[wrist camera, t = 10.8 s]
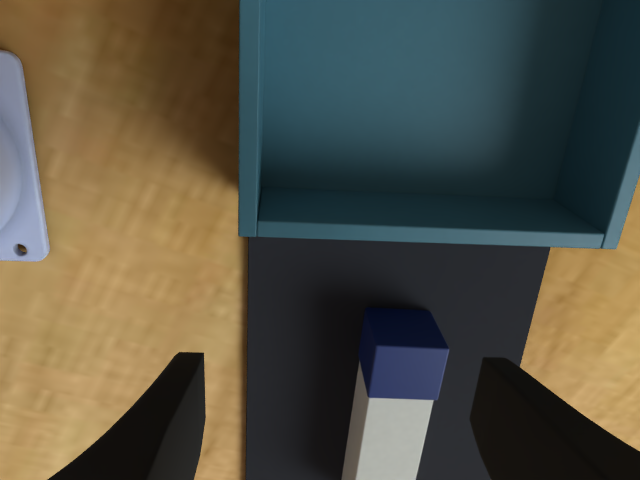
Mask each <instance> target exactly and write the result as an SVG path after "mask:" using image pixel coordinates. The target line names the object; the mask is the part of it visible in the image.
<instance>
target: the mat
mask: <svg viewBox="0 0 640 480" xmlns="http://www.w3.org/2000/svg"><path fill="white" fill-rule="evenodd" d="M549 251H550V247H538V246H509V245H480V244H452V243H423V242H394V241H365V240H337V239H308V238H279V237H258V236H256V237H248V324H247V412H246V480H341V479H342V473H343V466H344V459H345V453H346V446H347V440H348V433H349V426H350V420H351V413H352V407H353V400H354V393H355V387H356V380H357V374H358V367H359V356H358V353H359V346H360V340H361V333H362V326H363V320H364V313H365V308H367V307H370V308H389V309H408V310H426V311H431V313H432V315H433V317H434V319H435V321H436V323H437V325H438V327H439V329H440V331H441V333H442V335H443V337H444V339H445V341H446V343H447V345H448V347H449V353H448V358H447V362H446V366H445V371H444V375H443V380H442V384H441V388H440V393H439V397H438V400H434V401H433V405H432V409H431V414H430V418H429V423H428V427H427V432H426V436H425V440H424V445H423V449H422V454H421V458H420V463H419V467H418V472H417V476H416V480H491V478H490V476H489V474H488V472H487V469H486V467H485V465H484V463H483V460H482V458H481V456H480V453H479V450H478V447H477V444H476V441H475V437H474V434H473V430H472V427H471V424H470V420H469V418H470V413H471V409H472V404H473V400H474V395H475V391H476V386H477V382H478V377H479V373H480V368H481V364H482V359H483V357H503V358H507V359H509V360H510V361H512V362H513V363H514V364H516V365H517V366H519V367H520V364H521V360H522V356H523V352H524V348H525V344H526V340H527V336H528V332H529V329H530V325H531V321H532V317H533V313H534V309H535V305H536V301H537V298H538V294H539V290H540V286H541V282H542V278H543V274H544V270H545V267H546V263H547V259H548V255H549Z"/></svg>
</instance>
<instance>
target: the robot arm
mask: <svg viewBox="0 0 640 480" xmlns="http://www.w3.org/2000/svg"><path fill="white" fill-rule="evenodd" d="M18 244H21V245H23V246H25V247H26V249H27V252H23V251H21V250H20V249H19V248H18ZM49 252H50V245H49V239H48V232H47V225H46V219H45V212H44V205H43V199H42V192H41V186H40V179H39V172H38V166H37V159H36V152H35V146H34V139H33V132H32V126H31V119H30V112H29V106H28V99H27V92H26V86H25V79H24V73H23V66H22V63H21V60H20V59H19V58H18V57H17V55H15V54H14V53H12V52H10V51H6V50H0V260H6V261H41V260H42V259H44V258H45V257H46V256H47V255H48V253H49ZM205 418H206V415H205V378H204V353H192V352H179V353H178V354H177V355H175V356H174V358H173V359H172V360H171V362H170V363H169V364H168V365H167V367H166V368H165V369H164V370H163V372H162V373H161V374H160V375H159V377H158V378H157V379H156V380H155V381H154V382H153V384H152V385H151V386H150V387H149V388H148V389H147V390H146V392H145V393H144V394H143V395H142V396H141V397H140V398H139V399H138V400H137V402H136V403H135V404H134V405H133V406H132V407H131V408H130V409H129V410H128V411H127V412H126V413H125V414H124V415H123V416H122V417H121V418H120V419H119V420H118V421H117V422H116V423H115V424H114V425H113V426H112V427H111V428H110V429H109V430H108V431H107V432H106V433H105V434H104V435H103V436H101V437H100V438H99V439H98V440H97V441H96V442H95V443H94V444H93V445H91V446H90V447H89V448H88V449H87V450H85V451H84V452H83V453H82V454H81V455H80V456H78V457H77V458H76V459H75V460H73V461H72V462H71V463H70V464H68V465H67V466H66V467H64V468H63V469H62V470H60V471H59V472H57V473H56V474H55V475H53V476H52V477H50V478H49V479H48V480H194V476H195V473H196V469H197V465H198V461H199V457H200V452H201V446H202V439H203V432H204V425H205ZM469 420H470V424H471V427H472V430H473V434H474V437H475V441H476V444H477V447H478V450H479V453H480V456H481V458H482V460H483V463H484V465H485V467H486V469H487V472H488V474H489V476H490V478H491V480H640V451H638V450H636V449H635V448H633V447H631V446H629V445H628V444H626V443H624V442H623V441H621V440H620V439H618V438H617V437H615V436H613V435H612V434H610V433H609V432H607V431H606V430H604V429H603V428H601V427H600V426H599V425H597V424H596V423H594V422H593V421H591V420H590V419H588V418H587V417H585V416H584V415H583V414H581V413H580V412H578V411H577V410H576V409H574V408H573V407H571V406H570V405H569V404H567V403H566V402H565V401H563V400H562V399H561V398H559V397H558V396H557V395H555V394H554V393H553V392H551V391H550V390H549V389H547V388H546V387H545V386H544V385H542V384H541V383H540V382H538V381H537V380H536V379H534V378H533V377H532V376H531V375H529V374H528V373H527V372H525V371H524V370H523V369H521V368H520V367H519V366H517V365H516V364H514V363H513V362H512V361H510V360H509V359H507V358H503V357H483V359H482V364H481V368H480V373H479V377H478V382H477V386H476V391H475V395H474V400H473V404H472V409H471V413H470V418H469Z"/></svg>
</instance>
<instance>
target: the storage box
mask: <svg viewBox="0 0 640 480" xmlns="http://www.w3.org/2000/svg"><path fill="white" fill-rule="evenodd" d="M639 175H640V0H239V209H238V235H239V236H244V237H256V236H258V237H279V238H308V239H337V240H365V241H394V242H423V243H452V244H480V245H509V246H538V247H567V248H595V249H599V248H601V249H616V248H617V245H618V242H619V239H620V236H621V233H622V229H623V226H624V223H625V220H626V217H627V213H628V210H629V207H630V204H631V201H632V197H633V194H634V191H635V188H636V185H637V181H638V178H639Z"/></svg>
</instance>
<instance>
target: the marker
mask: <svg viewBox="0 0 640 480" xmlns="http://www.w3.org/2000/svg"><path fill="white" fill-rule="evenodd" d="M448 353H449V347H448V345H447V343H446V341H445V339H444V337H443V335H442V333H441V331H440V329H439V327H438V325H437V323H436V321H435V319H434V317H433V315H432V313H431V311H426V310H408V309H389V308H370V307H367V308H365V313H364V320H363V326H362V333H361V340H360V346H359V353H358V356H359V367H358V374H357V380H356V387H355V393H354V400H353V407H352V413H351V420H350V426H349V433H348V440H347V446H346V453H345V459H344V466H343V473H342V479H341V480H416V476H417V472H418V467H419V463H420V458H421V454H422V449H423V445H424V440H425V436H426V432H427V427H428V423H429V418H430V414H431V409H432V405H433V401H434V400H438V397H439V393H440V388H441V384H442V380H443V375H444V371H445V366H446V362H447V358H448Z"/></svg>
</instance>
